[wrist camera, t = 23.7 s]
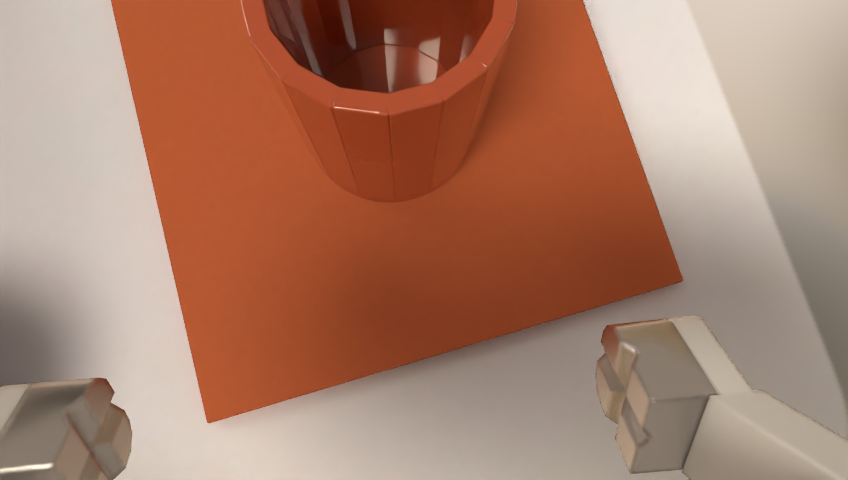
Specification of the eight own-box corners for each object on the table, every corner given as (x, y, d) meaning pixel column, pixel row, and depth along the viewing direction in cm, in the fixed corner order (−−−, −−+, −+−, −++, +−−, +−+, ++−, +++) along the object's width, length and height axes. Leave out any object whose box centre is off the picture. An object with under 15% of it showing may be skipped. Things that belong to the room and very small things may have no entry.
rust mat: (677, 282, 25) (684, 281, 24) (211, 421, 23) (206, 424, 23) (532, -124, 28) (535, -134, 27) (110, -22, 26) (103, -30, 26)
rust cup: (494, 178, 25) (553, 73, 15) (328, 222, 24) (274, 144, 14) (448, 24, 26) (474, -168, 16) (287, 63, 25) (211, -111, 15)
